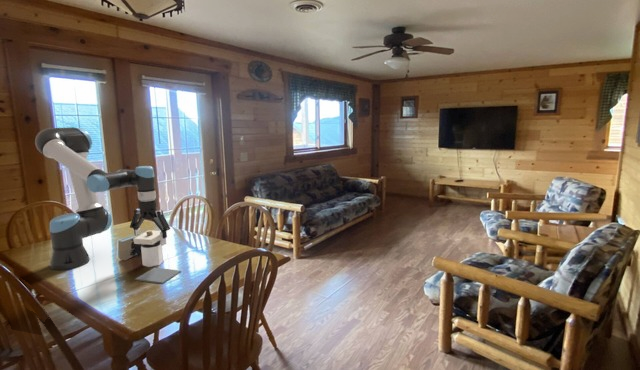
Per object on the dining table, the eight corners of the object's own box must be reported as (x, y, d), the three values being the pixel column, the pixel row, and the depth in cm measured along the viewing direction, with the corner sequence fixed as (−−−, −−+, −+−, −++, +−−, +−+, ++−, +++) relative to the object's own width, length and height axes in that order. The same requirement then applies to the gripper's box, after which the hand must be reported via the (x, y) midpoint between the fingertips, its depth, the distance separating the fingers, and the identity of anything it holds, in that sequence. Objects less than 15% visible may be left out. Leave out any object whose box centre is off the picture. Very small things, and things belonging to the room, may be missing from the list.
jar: (143, 268, 160) (141, 243, 158) (141, 262, 166) (139, 238, 164) (164, 264, 165) (162, 240, 162) (161, 258, 171) (159, 235, 169)
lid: (134, 243, 160) (132, 235, 159) (149, 235, 169) (147, 227, 168) (152, 244, 157) (150, 236, 156) (166, 235, 167) (165, 228, 166)
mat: (135, 280, 148) (134, 278, 148) (154, 268, 160) (154, 267, 159) (163, 283, 145) (163, 282, 145) (181, 271, 156) (181, 270, 156)
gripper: (118, 199, 159) (123, 243, 163) (165, 203, 153) (168, 248, 157) (130, 196, 166) (135, 238, 170) (175, 199, 160) (179, 243, 164)
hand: (151, 243), depth 164 cm, fingers open, 13 cm apart
